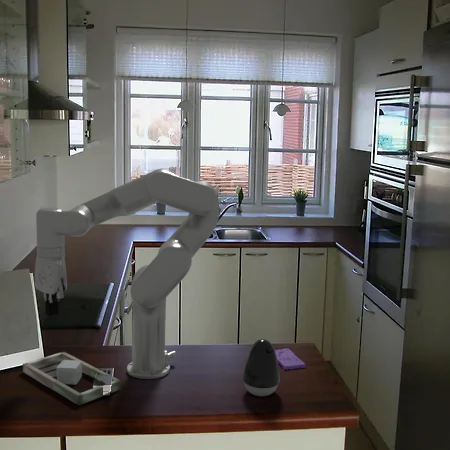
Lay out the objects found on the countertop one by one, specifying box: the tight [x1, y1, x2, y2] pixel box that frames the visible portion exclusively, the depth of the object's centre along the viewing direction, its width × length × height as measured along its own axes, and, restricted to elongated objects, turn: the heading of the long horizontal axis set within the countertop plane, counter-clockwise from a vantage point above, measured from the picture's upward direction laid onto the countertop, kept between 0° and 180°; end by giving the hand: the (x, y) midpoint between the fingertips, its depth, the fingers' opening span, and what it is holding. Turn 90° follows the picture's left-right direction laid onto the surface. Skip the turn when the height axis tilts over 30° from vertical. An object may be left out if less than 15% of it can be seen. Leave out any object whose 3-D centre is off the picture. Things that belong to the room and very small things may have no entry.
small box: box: [56, 360, 83, 386], centre depth 162 cm, size 6×6×5 cm
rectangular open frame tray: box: [22, 351, 122, 406], centre depth 162 cm, size 13×28×2 cm, turn 48°
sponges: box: [274, 348, 306, 371], centre depth 181 cm, size 7×13×2 cm, turn 19°
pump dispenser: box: [242, 338, 281, 397], centre depth 158 cm, size 10×10×15 cm
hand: (52, 314), depth 165 cm, fingers closed
